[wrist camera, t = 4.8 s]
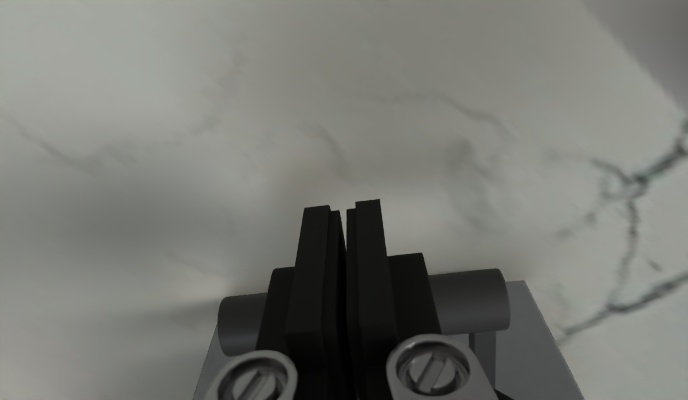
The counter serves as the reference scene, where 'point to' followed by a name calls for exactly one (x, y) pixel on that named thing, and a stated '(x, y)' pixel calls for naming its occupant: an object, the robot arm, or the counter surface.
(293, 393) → the robot arm
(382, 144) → the counter surface
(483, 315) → the drawer
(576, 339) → the counter surface
